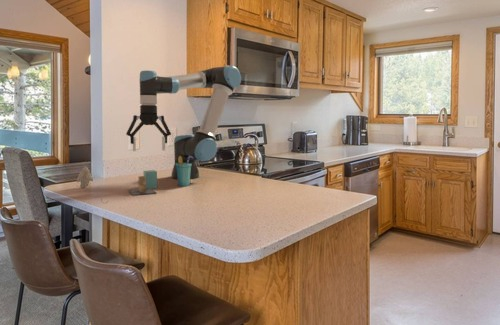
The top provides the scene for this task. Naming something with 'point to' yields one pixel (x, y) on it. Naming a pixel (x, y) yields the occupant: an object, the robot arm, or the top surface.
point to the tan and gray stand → (142, 188)
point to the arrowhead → (84, 177)
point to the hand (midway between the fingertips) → (149, 150)
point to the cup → (183, 171)
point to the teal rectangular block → (151, 178)
